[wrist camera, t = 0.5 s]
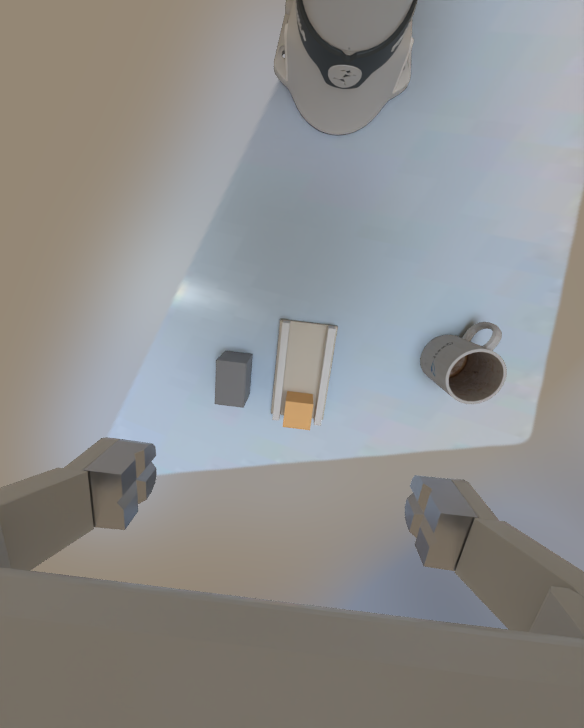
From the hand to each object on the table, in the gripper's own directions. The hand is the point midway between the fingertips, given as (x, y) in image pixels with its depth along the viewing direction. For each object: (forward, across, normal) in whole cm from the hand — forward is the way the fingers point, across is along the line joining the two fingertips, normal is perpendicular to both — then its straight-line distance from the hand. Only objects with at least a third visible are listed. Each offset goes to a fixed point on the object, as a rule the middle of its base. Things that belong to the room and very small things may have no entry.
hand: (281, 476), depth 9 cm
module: (+44, +10, +12) cm, 47 cm away
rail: (+44, -2, +11) cm, 45 cm away
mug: (+44, -28, +4) cm, 52 cm away
